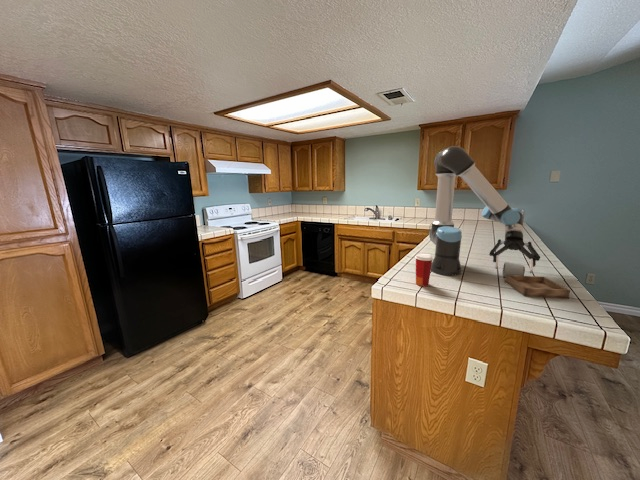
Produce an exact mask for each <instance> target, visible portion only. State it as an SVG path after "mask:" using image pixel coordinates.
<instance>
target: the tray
mask: <svg viewBox="0 0 640 480" xmlns="http://www.w3.org/2000/svg"><path fill="white" fill-rule="evenodd" d="M504 283H505V284H507V286H510V287H511V288H512V289H514V290H515V291H516V292H518V293H519V294H521V295H522V296H523V297H534V298H535V297H537V298H550V299H551V298H552V299H569V298H570V293H571V290H570V289H567V288H566V287H564V286H562V285H560V284H559V283H556V282H555V281H553V280H552V279H550V278H548V277H546V276H538V275H536V276H535V275H524V276H517V275H506V276H505V277H504Z"/></svg>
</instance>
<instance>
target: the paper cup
mask: <svg viewBox="0 0 640 480" xmlns="http://www.w3.org/2000/svg"><path fill="white" fill-rule="evenodd" d="M414 258H415V284H416V285H417V286H419V287H428V286H429V284H430V278H431V277H430V276H431V272H432V271H431V265H432V261H433V259H434V257H433V256H432V255H431V254H429V253H417V254H416V255H415V257H414Z"/></svg>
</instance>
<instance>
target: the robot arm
mask: <svg viewBox="0 0 640 480" xmlns="http://www.w3.org/2000/svg"><path fill="white" fill-rule="evenodd" d="M434 166H435V176H437V188H436V203H435V211H434V212H435V216H434V220H433V221H432V222H431V228H430V230H429V235H428V236H429V239H430V241H431V242H432V244H434V245H435V250H434V251H435V252H434V256H433V260H432V265H431V271H430V272H433V273H435V274H437V275H443V276H451V277H452V276H453V277H454V276H460V275H461V274H462V271H463V270H462V269H463V268H462V265H461V261H460V254H461V243H462V237H463V234H462V230H461V229H460V228H458V227H455V223H454V222H453V221H452V219H453V209H454V208H453V207H454V198H455V197H454V195H455V185H456V177H460V178H461V179H462V180H463V181H464V182H465V184H466V185H467V186H468V187H469V188H470V189H471V191H472V192H473V193H474V194H475V195H476V196H477V197H478V199H479V200H480V201H481V202H482V203H483V205H485V206H484V208H483V209H482V211H481V217H482V218H483V219H487V220H489V221H493V222H496V223H500V224H502V225H504V226H505V227H504V228H505V229H504V231H505V232H504V240H501V238H499V239H498V240H497V243H496V244H495V245H494V246H493V247H492V249H491V250H490V251H489V253H488V254H489V256H490V257H492V259H493V260H492V262H493V263H495V268H494V269H496V270H498V267H499V256H500V255H501V254H502V253H504V252H505V251H507V250H511V251H519V252H521V253H522V254H523V255H525V257H527V258H528V259H529V264H528V266H529V274H533V271H534V267H536V264H537V263H536V262H538V261H540V260H541V256H540V254H539V253H538V252H537V251H536V249H535V247H533V245H532V241H528V242H525V241H524V214H523V213H524V212H523V210H522V209H521V208H519V207H515V208H514V207H511V206H510V205H509V204H508V203H507V202H506V201H505V199H504V198H503V197H502V196H501V194H500V193H499V192H498V191H497V190H496V189H495V187H493V185H492V184H491V183H490V182H489V180H487V178H486V177H485V176H484V175H483V173H482V172H481V171H480V169H478V168H477V167H476V161H474V159H473V157H472V156H470V155H469V154H468V152H467V151H466V150H465V149H464V148H462V147H461V146H457V145H451V146H449V147H447V148H444V149H442V150H440V151H439V152H438V153H437V155H436V156H435V159H434ZM501 245H504V246H502V247H501V248H500V249H499V247H500V246H501Z"/></svg>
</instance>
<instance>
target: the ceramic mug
mask: <svg viewBox="0 0 640 480" xmlns="http://www.w3.org/2000/svg"><path fill="white" fill-rule="evenodd" d="M525 272H526V267H525V265H522V264H520V263H513V262H507V261H505V262H504V263H503V267H502V274H501V275H502V277H503V278H505V276H506V275H517V276H525V274H526V273H525Z"/></svg>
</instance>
